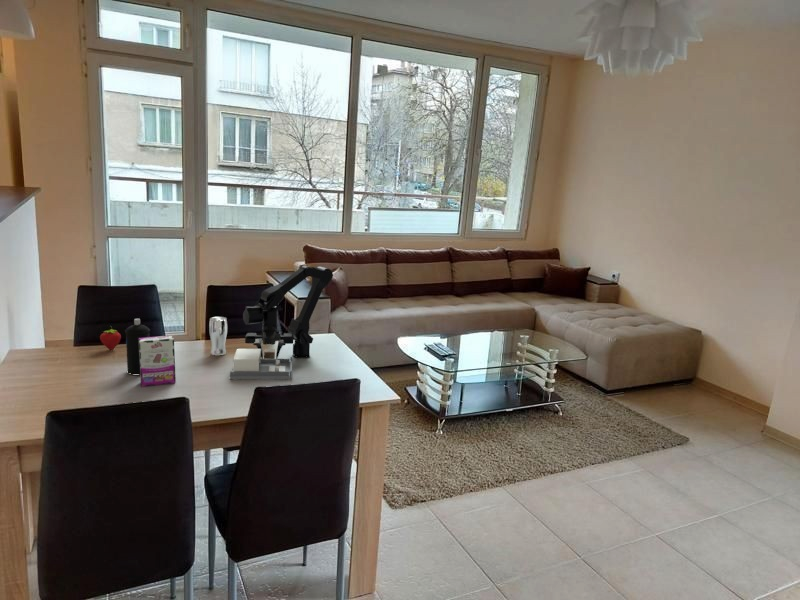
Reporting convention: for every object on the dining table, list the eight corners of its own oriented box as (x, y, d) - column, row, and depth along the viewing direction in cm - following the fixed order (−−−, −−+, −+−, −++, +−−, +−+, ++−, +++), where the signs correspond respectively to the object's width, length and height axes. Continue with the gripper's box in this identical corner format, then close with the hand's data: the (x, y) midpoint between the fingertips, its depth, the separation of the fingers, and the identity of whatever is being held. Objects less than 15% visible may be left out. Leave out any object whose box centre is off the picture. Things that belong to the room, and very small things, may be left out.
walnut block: (274, 359, 219) (274, 349, 218) (274, 362, 215) (274, 352, 214) (264, 359, 218) (264, 349, 217) (264, 362, 214) (264, 352, 213)
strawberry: (100, 348, 217) (99, 325, 215) (121, 347, 221) (120, 323, 219) (100, 353, 212) (99, 328, 210) (121, 351, 216) (120, 327, 214)
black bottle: (156, 370, 198) (154, 318, 194) (137, 377, 191) (135, 323, 186) (140, 366, 201) (138, 315, 197) (121, 372, 194) (119, 319, 189)
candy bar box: (174, 378, 192) (173, 334, 188) (175, 383, 188) (174, 338, 184) (140, 381, 187) (138, 337, 183) (140, 387, 182) (138, 341, 179)
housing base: (291, 364, 214) (292, 357, 213) (291, 379, 198) (291, 371, 198) (234, 364, 209) (234, 356, 209) (230, 379, 194) (230, 371, 193)
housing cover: (260, 362, 210) (261, 348, 208) (258, 373, 197) (258, 359, 196) (237, 362, 208) (237, 348, 206) (233, 374, 196) (233, 359, 194)
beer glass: (221, 357, 217) (221, 321, 214) (206, 355, 218) (205, 319, 215) (230, 352, 224) (230, 317, 220) (215, 350, 225) (215, 315, 222)
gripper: (243, 326, 203) (243, 365, 207) (293, 327, 207) (292, 365, 210) (246, 319, 214) (246, 355, 217) (293, 319, 218) (292, 356, 221)
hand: (269, 358), depth 216 cm, fingers open, 5 cm apart
